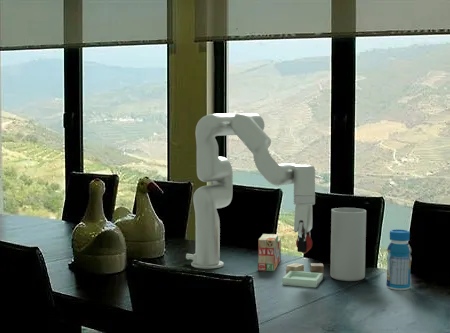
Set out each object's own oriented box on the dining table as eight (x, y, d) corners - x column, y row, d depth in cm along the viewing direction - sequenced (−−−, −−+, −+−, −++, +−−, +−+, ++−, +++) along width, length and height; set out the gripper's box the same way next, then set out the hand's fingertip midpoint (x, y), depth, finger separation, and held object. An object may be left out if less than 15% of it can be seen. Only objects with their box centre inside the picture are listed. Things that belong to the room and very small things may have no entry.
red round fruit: (294, 252, 259) (294, 230, 259) (310, 251, 260) (310, 229, 259) (297, 255, 253) (297, 232, 253) (313, 254, 254) (313, 232, 253)
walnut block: (311, 278, 265) (311, 265, 264) (310, 275, 269) (310, 263, 269) (323, 278, 264) (323, 266, 264) (322, 275, 269) (322, 263, 268)
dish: (282, 284, 254) (282, 277, 254) (290, 277, 265) (290, 270, 265) (316, 287, 250) (316, 280, 250) (322, 279, 261) (322, 273, 261)
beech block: (286, 276, 267) (286, 265, 267) (294, 273, 272) (294, 263, 271) (295, 277, 265) (295, 267, 264) (303, 274, 269) (303, 264, 269)
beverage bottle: (396, 291, 245) (398, 233, 243) (380, 286, 252) (382, 229, 251) (415, 289, 249) (417, 231, 247) (399, 283, 256) (401, 228, 255)
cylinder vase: (368, 275, 268) (369, 209, 266) (359, 283, 257) (361, 213, 255) (335, 272, 273) (337, 207, 271) (326, 279, 262) (327, 211, 260)
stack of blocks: (265, 259, 297) (266, 229, 296) (280, 260, 295) (281, 230, 294) (257, 270, 276) (258, 239, 275) (274, 271, 274) (274, 239, 273)
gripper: (299, 196, 264) (298, 245, 266) (288, 202, 248) (288, 254, 250) (319, 197, 262) (319, 246, 264) (309, 203, 246) (309, 255, 247)
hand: (304, 249), depth 257 cm, fingers closed on red round fruit, 5 cm apart
